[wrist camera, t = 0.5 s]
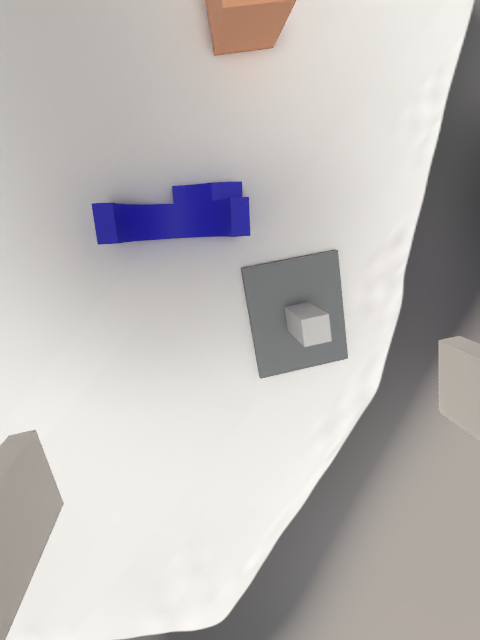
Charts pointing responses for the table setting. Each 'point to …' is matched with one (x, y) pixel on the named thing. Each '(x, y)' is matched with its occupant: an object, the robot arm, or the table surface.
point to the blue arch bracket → (177, 215)
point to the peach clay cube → (246, 23)
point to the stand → (296, 312)
